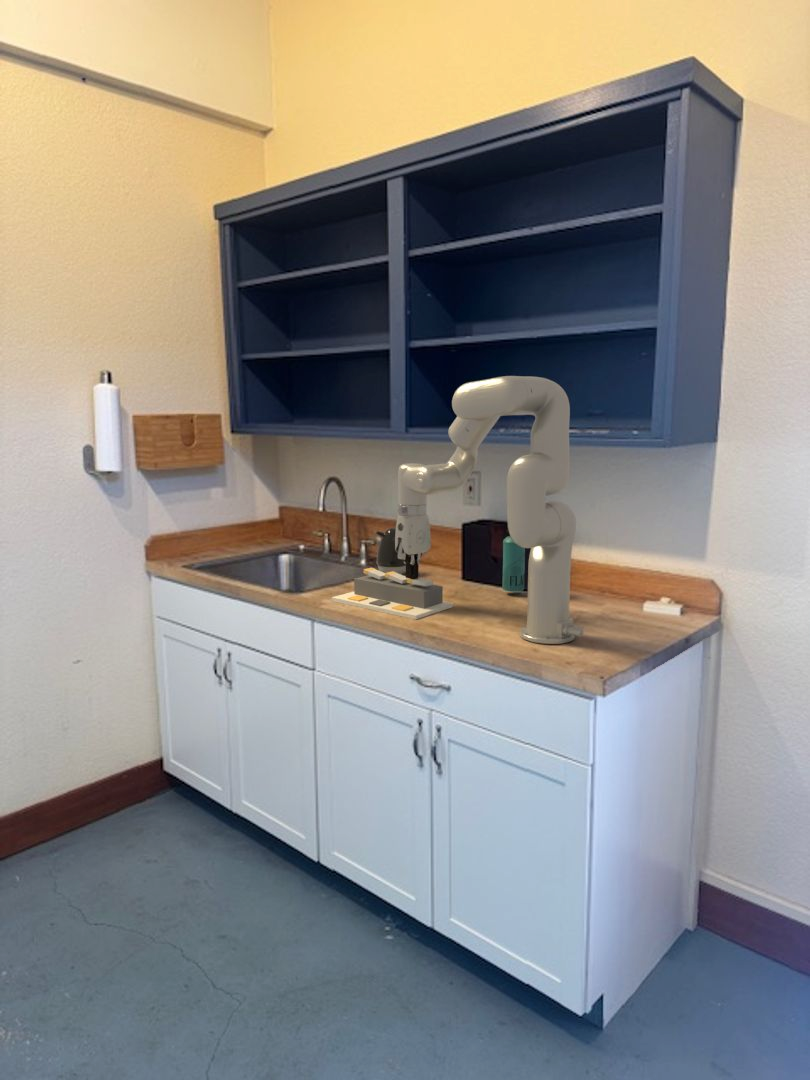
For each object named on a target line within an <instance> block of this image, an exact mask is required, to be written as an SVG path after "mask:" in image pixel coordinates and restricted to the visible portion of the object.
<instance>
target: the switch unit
mask: <svg viewBox="0 0 810 1080" xmlns="http://www.w3.org/2000/svg"><path fill="white" fill-rule="evenodd" d="M353 583H354V589H353V590H354V591H351V592H350V591H349V592H347V593H343V594H339V595H335V596H332V597H331V602H336V603H339V604H344V605H348V606H349V605H350V606H354V607H358V608H363V609H366V610H372V611H375V612H380V613H385V614H390V615H392V616H393V615H394V616H398V617H403V618H407V619H412V620H418V619H421V618H424V617H427V616H429V615H430V616H431V615H433V614H436V613H439V612H442V611H445V610H448V609H451V608H453V607H454V602H448V601H445V600H443V597H444V596H443V595H444V594H443V591H444V590H443V586H441V585H437V584H432V585H429V586H421V585H416V584H411V583H403V584H401V583H399V582H396V581H394V580H392V579H389V578H385V579H381V580H380V579H377V578H375V577H372V576H370V575H368V574H366V575H364V576H360V577H356V578H355V577H354V581H353Z"/></svg>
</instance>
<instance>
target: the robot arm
mask: <svg viewBox="0 0 810 1080" xmlns="http://www.w3.org/2000/svg"><path fill="white" fill-rule="evenodd" d="M451 407H452V410H453V412H454V414H455V415H456V417H455V419H454V420H453V422H452V423H451V425H450V426H449V428H448V431H447V432H448V433H447V434H448V437H449V438H450V440H451V442H452V443H453V444H454V445H455V446H456V449H455V451H454V453H453V454H452V455H451V456H450V458H449V460H448V461H447V462H446V463H438V464H427V465H425V464H423V463H412V462H411V463H409V462H408V463H403V464H401V465H399V467H398V473H397V475H398V476H397V478H398V479H397V480H398V481H397V483H398V485H397V488H398V489H397V495H398V496H397V499H398V500H397V501H398V502H397V503H398V504H397V515H398V516H397V519H396V524H395V528H396V533H395V549H396V552H397V553H398V559H403V560H404V563H405V564H406V570H405V576H406V578H410V579H417V578H419V566H420V565H419V564H420V563H421V558H422V556H424V555H425V554H427V552H429V551H430V550H431V544H432V543H431V526H430V525H431V524H430V520H429V519H430V518H429V515H428V514H427V507H428V506H427V501H428V499H427V497H428V496H431V495H438V494H443V493H452V492H456V491H457V490H458V489H460V488H461V487H462V486H463V485H464V483H466V481H467V480H468V478H469V477H470V476H471V474H472V473H473V471H474V469H475V468H476V465H477V460H478V455H479V451H478V448H479V446H480V445H481V444H482V443H483V441H484V440H485V438H486V437H487V435H488V434H489V432H490V431H491V430H492V429H493V427H494V426H495V424H496V423H498V420H499V419H500V418H501V417H503V416H526V415H527V416H529V415H530V416H534V418H535V420H534V421H533V423H532V427H531V429H530V437H529V438H530V452H529V454H526V455H525V454H524V455H522V456H520V457H518V458H516V460H514V461H513V462H512V464H511V465H510V467H509V470H508V472H507V476H506V509H507V510H506V512H507V513H506V514H507V515H506V516H507V527H508V529H509V533H508V534H509V536H511V538H512V540H513V541H514V542H515V543H516V544H517V545H519V546H520V547H523V548H525V549H530V551H529V555H528V557H529V558H528V565H527V566H528V570H527V574H528V575H527V605H526V609H527V610H526V626H523V627H522V628H521V629H520V630H519V635H520V637H521V638H522V639H524V640H526V641H528V642H532V643H536V644H542V645H544V644H546V645H555V644H556V645H557V644H558V645H560V644H567V643H570V642H572V641H574V640H575V638H576V637H577V638H583V636H584V626H579V625H575V624H574V618H572V617H570V596H571V595H570V594H571V593H570V591H571V567H572V565H571V564H572V553H573V552H572V551H573V546H574V545H573V544H574V540H575V535H576V530H577V519H576V515H575V513H574V511H573V509H572V508H571V507H570V506H569V505H568V504H566V503H565V502H563V501H558V500H547V499H546V497H549V496H554V495H558V494H560V493H562V492H563V491H565V490H566V489H567V488H568V486H569V482H570V475H571V474H570V469H571V468H570V418H571V417H570V415H571V412H570V411H571V410H570V409H571V406H570V401H569V397H568V395H567V393H566V391H565V390H564V388H563V387H561V386H560V384H558V383H557V382H555V381H553V380H550V379H548V378H546V377H539V376H528V375H527V376H521V375H518V376H517V375H505V376H497V377H492V378H487V379H481V380H475V381H469V382H466V383H463V384H462V385H460V386H459V387H457V389H456V390H455V391H454V394H453V396H452V400H451Z"/></svg>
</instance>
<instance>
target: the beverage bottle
mask: <svg viewBox="0 0 810 1080" xmlns="http://www.w3.org/2000/svg"><path fill="white" fill-rule="evenodd" d="M506 528H507V529H506V533H507V534H510V533H509V529H508V526H506ZM526 549H527V548H523V547H520V546H519V545H517V544H516V543H515V542H514V541H513V540H512V538H511V536H510V535H509V536H506V537H505V538H504V539H503V541H502V579H501V580H502V586H501V587H502V590H503V591H505V592H513V593H516V592H517V593H518V592H523V591H524V589H525V584H526V583H525V582H526V581H525V580H526V576H525V573H526V569H525V567H526V566H525V565H526V563H525V562H526Z"/></svg>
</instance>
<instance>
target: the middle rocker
mask: <svg viewBox="0 0 810 1080" xmlns="http://www.w3.org/2000/svg"><path fill="white" fill-rule="evenodd" d="M385 577H386V578H389V579H392V580H394V581H396V582H399V583H401V584H403V583H407V579H409V578H406V575H403V574H398V573H396V572H394V571H392V572H388V573H385Z"/></svg>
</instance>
